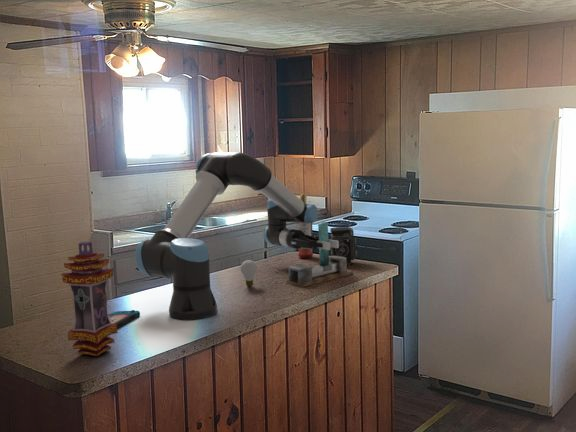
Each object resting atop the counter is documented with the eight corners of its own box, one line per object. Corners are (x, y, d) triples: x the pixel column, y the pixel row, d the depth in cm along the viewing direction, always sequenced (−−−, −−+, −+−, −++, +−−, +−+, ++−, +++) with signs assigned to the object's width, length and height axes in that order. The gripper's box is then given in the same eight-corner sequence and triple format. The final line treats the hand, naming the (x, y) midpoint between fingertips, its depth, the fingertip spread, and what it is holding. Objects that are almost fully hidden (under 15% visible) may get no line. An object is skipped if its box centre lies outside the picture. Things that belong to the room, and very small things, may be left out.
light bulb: (258, 284, 233) (257, 258, 232) (256, 289, 228) (255, 261, 226) (243, 285, 234) (241, 258, 233) (240, 289, 228) (238, 262, 227)
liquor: (315, 255, 281) (313, 193, 278) (312, 259, 274) (309, 195, 270) (299, 255, 283) (296, 193, 279) (295, 259, 276) (293, 195, 272)
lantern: (67, 357, 165) (57, 244, 161) (90, 345, 173) (81, 238, 169) (98, 361, 161) (88, 246, 157) (120, 349, 170) (111, 239, 166)
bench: (302, 286, 228) (301, 268, 227) (286, 282, 235) (285, 265, 234) (352, 273, 245) (352, 257, 244) (336, 270, 251) (335, 254, 250)
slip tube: (307, 278, 233) (305, 227, 230) (300, 277, 236) (298, 226, 233) (342, 270, 244) (340, 220, 241) (335, 268, 247) (333, 219, 245)
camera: (358, 266, 258) (357, 229, 256) (332, 266, 258) (331, 230, 256) (355, 260, 268) (355, 225, 266) (331, 261, 269) (329, 226, 266)
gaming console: (114, 309, 204) (141, 308, 200) (115, 317, 204) (142, 316, 201) (67, 333, 181) (97, 332, 178) (69, 341, 181) (98, 341, 178)
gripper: (308, 244, 259) (349, 251, 241) (277, 250, 248) (317, 258, 230) (308, 226, 258) (349, 232, 240) (276, 232, 247) (317, 238, 229)
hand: (333, 245), depth 235 cm, fingers closed on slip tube, 4 cm apart
